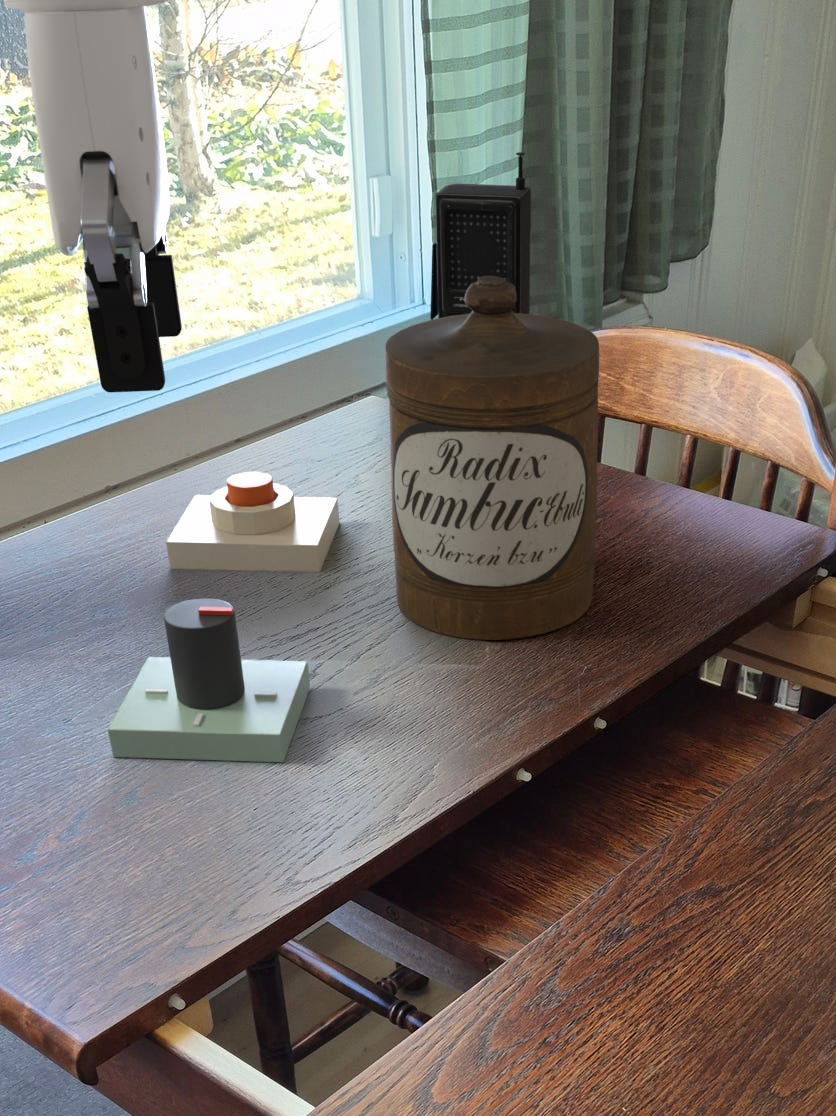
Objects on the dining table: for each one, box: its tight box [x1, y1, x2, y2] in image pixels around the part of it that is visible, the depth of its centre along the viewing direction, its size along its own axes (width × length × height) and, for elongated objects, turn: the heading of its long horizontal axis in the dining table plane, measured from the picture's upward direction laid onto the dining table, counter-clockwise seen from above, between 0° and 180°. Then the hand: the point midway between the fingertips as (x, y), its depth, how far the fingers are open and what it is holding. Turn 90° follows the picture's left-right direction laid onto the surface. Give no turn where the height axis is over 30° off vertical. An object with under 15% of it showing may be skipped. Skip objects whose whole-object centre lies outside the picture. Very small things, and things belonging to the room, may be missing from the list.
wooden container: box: [384, 276, 600, 641], centre depth 101 cm, size 15×15×22 cm
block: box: [165, 482, 341, 573], centre depth 115 cm, size 12×10×4 cm
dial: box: [163, 598, 245, 709], centre depth 91 cm, size 4×4×6 cm
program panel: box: [107, 656, 311, 763], centre depth 94 cm, size 11×10×2 cm
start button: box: [226, 470, 275, 507], centre depth 113 cm, size 4×4×2 cm
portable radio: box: [429, 151, 532, 320], centre depth 118 cm, size 8×6×25 cm
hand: (144, 361), depth 77 cm, fingers open, 9 cm apart
